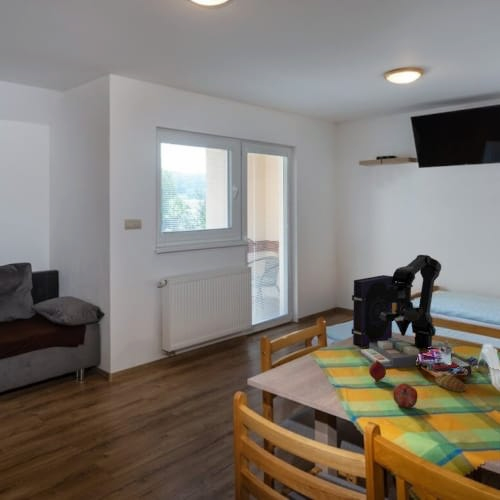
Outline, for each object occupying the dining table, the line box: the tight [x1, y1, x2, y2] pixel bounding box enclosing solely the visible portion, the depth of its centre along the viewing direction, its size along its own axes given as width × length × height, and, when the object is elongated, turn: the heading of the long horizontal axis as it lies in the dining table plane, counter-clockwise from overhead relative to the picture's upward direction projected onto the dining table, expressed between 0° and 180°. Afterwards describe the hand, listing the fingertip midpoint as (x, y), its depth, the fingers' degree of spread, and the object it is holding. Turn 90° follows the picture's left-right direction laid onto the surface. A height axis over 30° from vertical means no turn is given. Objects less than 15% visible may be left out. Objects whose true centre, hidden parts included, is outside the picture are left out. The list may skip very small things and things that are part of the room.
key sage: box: [395, 341, 411, 351], centre depth 194 cm, size 4×4×3 cm
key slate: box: [387, 337, 404, 346], centre depth 200 cm, size 4×4×3 cm
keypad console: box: [357, 342, 418, 369], centre depth 193 cm, size 19×21×4 cm
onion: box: [368, 360, 387, 382], centre depth 168 cm, size 6×6×8 cm
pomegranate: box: [392, 383, 419, 409], centre depth 148 cm, size 7×7×10 cm
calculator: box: [433, 356, 472, 376], centre depth 178 cm, size 11×4×15 cm
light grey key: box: [378, 340, 392, 349], centre depth 196 cm, size 4×4×3 cm
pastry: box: [436, 374, 467, 393], centre depth 162 cm, size 9×7×4 cm
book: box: [351, 274, 393, 348], centre depth 218 cm, size 24×6×30 cm, turn 130°
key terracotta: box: [385, 350, 400, 354], centre depth 190 cm, size 4×4×3 cm
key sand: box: [403, 345, 420, 355], centre depth 188 cm, size 4×4×3 cm
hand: (403, 335), depth 194 cm, fingers closed
